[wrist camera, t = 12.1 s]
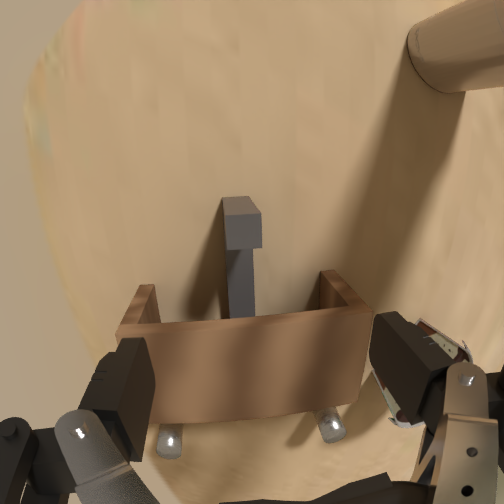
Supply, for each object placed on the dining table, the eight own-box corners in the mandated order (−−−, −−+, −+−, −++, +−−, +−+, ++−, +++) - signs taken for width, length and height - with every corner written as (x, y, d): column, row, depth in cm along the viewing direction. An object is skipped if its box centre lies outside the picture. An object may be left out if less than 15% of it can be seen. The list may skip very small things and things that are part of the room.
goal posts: (333, 394, 38) (348, 425, 33) (331, 409, 39) (344, 440, 34) (158, 411, 36) (153, 445, 31) (163, 425, 37) (159, 459, 32)
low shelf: (333, 269, 33) (373, 311, 24) (328, 348, 36) (357, 401, 27) (139, 285, 31) (115, 334, 22) (157, 364, 34) (144, 423, 25)
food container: (387, 392, 40) (418, 439, 30) (363, 378, 38) (394, 429, 29) (446, 329, 38) (488, 367, 28) (427, 309, 36) (473, 349, 27)
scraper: (288, 194, 30) (316, 210, 22) (287, 355, 35) (305, 407, 27) (181, 200, 29) (167, 219, 21) (200, 362, 35) (198, 417, 26)
